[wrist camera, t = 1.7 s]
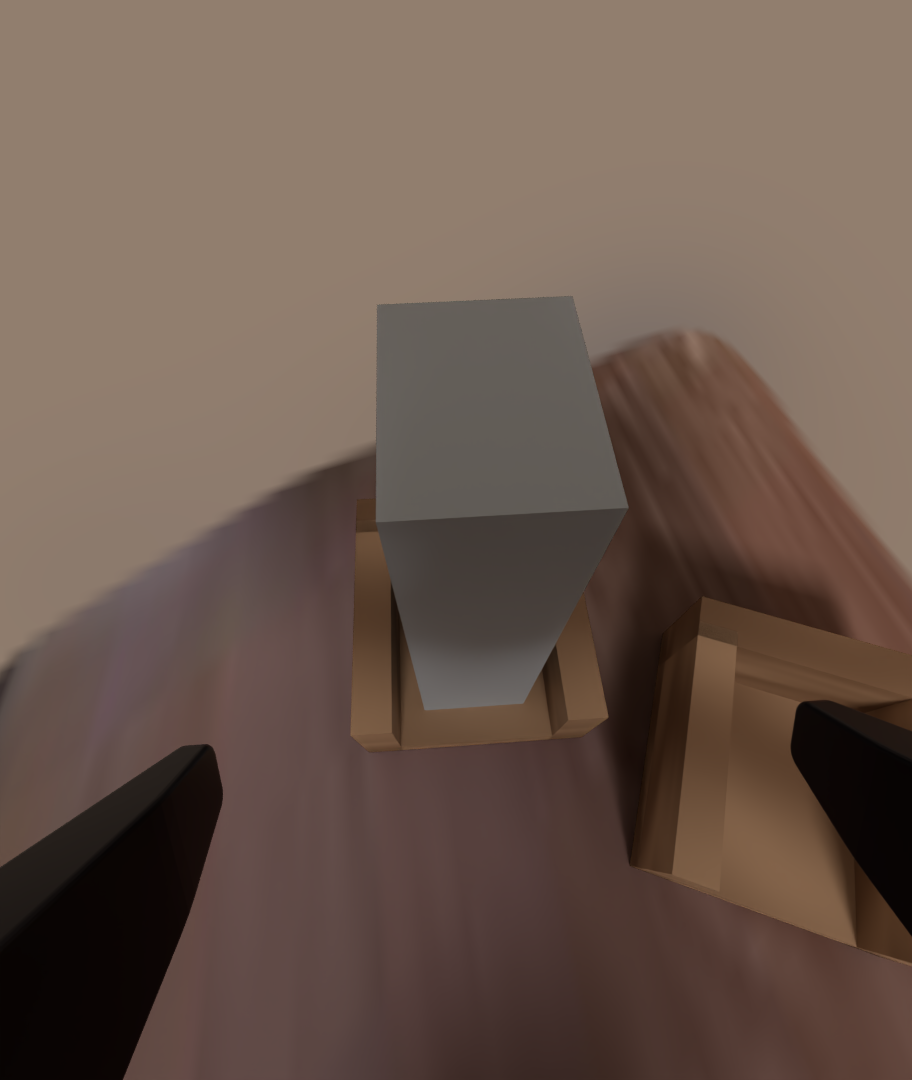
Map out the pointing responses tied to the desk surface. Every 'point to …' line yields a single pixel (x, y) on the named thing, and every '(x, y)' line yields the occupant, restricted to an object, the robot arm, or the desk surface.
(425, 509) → the slat
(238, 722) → the desk surface
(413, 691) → the end cap
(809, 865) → the end cap
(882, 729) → the robot arm
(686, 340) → the desk surface
